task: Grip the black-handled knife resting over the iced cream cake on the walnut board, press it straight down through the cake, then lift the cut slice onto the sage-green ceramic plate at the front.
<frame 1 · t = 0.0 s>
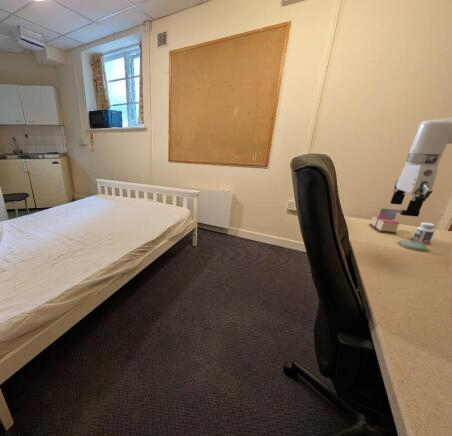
hand: (403, 207, 80), 21 cm above the table, tool pointing down, fingers open, 9 cm apart
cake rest: (385, 229, 112), point 1 cm above the table, touching cake board
pill bottle: (420, 241, 102), on the table
cake slice: (379, 225, 117), point 1 cm above the table, touching cake board
cake board: (382, 229, 115), on the table
plate: (412, 246, 97), on the table
knife: (397, 214, 111), point 9 cm above the table, slide at 0.0 cm
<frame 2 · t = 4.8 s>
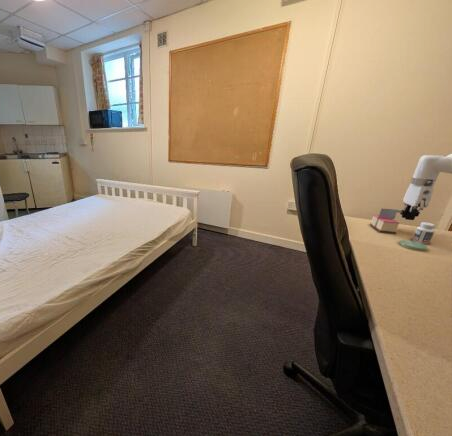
hand: (407, 218, 110), 7 cm above the table, tool pointing down, fingers closed on knife, 2 cm apart
knife: (397, 214, 111), point 9 cm above the table, slide at 0.0 cm, touching gripper
everything else where it was.
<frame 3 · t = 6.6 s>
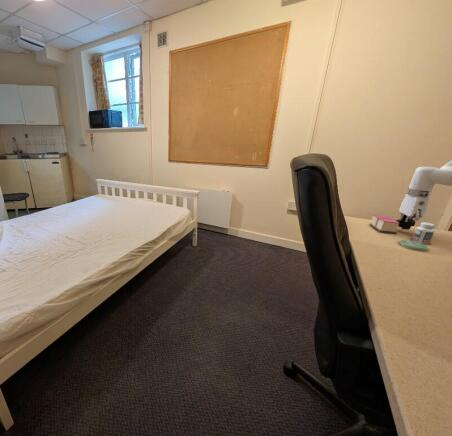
hand: (403, 227, 112), 2 cm above the table, tool pointing down, fingers closed on knife, 2 cm apart
knife: (394, 224, 113), point 3 cm above the table, slide at -5.2 cm, touching cake board, gripper
everything else where it was.
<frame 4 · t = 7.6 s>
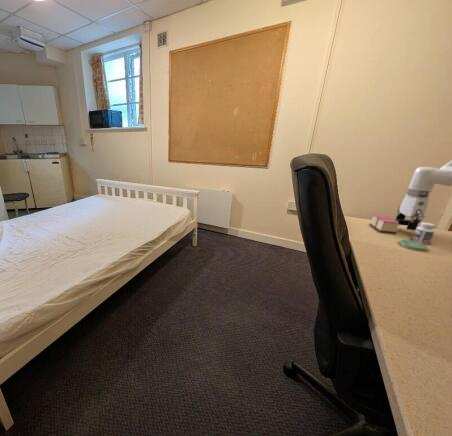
hand: (404, 226, 111), 3 cm above the table, tool pointing down, fingers open, 9 cm apart
knife: (394, 223, 113), point 4 cm above the table, slide at -5.1 cm
everything else where it was.
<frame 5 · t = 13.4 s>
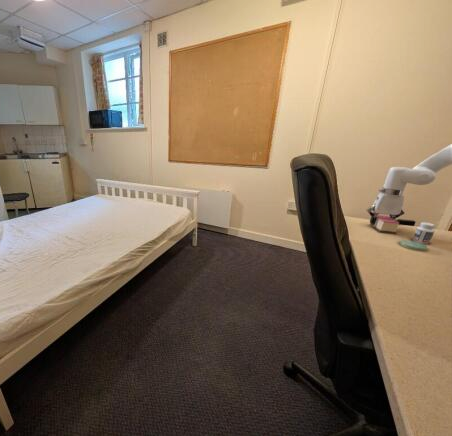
hand: (380, 224, 117), 2 cm above the table, tool pointing down, fingers closed on cake slice, 6 cm apart
cake slice: (379, 225, 117), point 1 cm above the table, touching cake board, gripper
everything else where it was.
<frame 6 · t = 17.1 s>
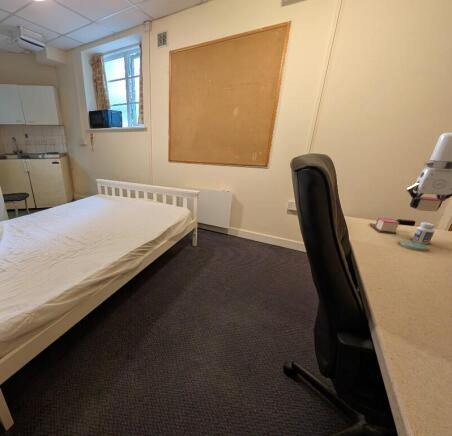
hand: (423, 208, 94), 17 cm above the table, tool pointing down, fingers closed on cake slice, 6 cm apart
cake slice: (422, 209, 94), point 16 cm above the table, touching gripper
everything else where it was.
when the fingers open (2 cm above the table, at t = 21.2 s): cake slice stays where it is, resting on plate.
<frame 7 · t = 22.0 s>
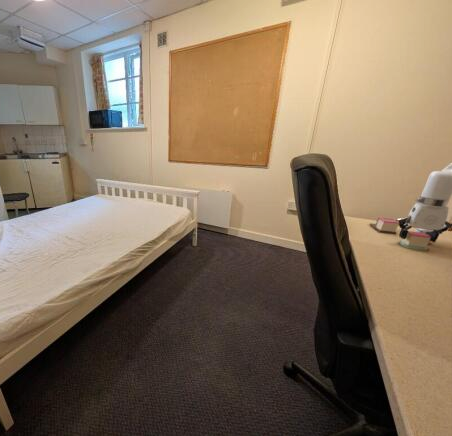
hand: (416, 239, 96), 3 cm above the table, tool pointing down, fingers open, 9 cm apart
cake slice: (413, 244, 97), point 1 cm above the table, touching plate
everything else where it was.
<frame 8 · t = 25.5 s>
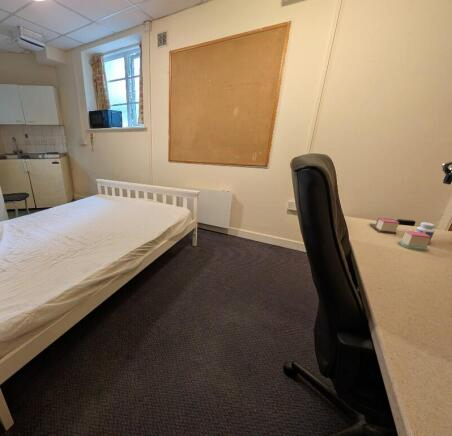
nothing on the table moved.
at the end: knife slide at -5.1 cm; cake slice 0.1 cm off-centre on the plate, point 1.2 cm above the plate's base; cake slice tilted 0° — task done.
